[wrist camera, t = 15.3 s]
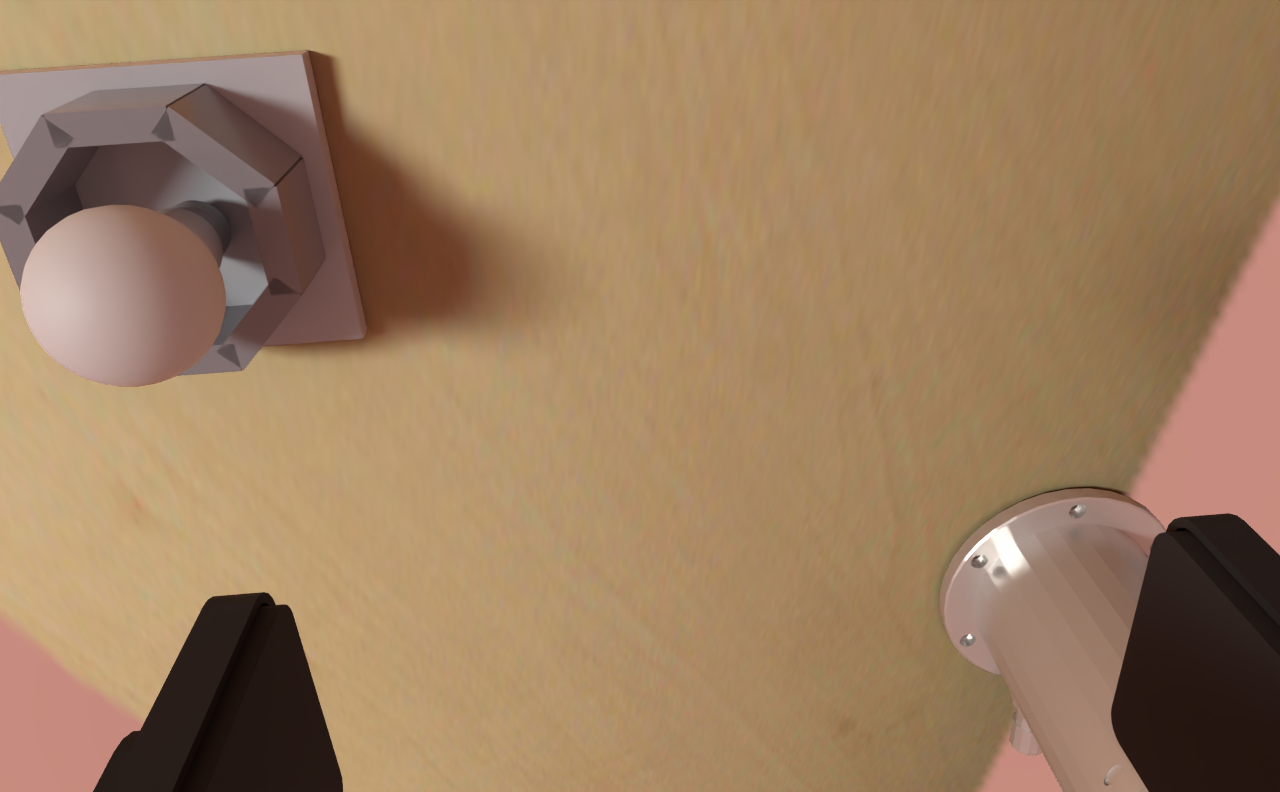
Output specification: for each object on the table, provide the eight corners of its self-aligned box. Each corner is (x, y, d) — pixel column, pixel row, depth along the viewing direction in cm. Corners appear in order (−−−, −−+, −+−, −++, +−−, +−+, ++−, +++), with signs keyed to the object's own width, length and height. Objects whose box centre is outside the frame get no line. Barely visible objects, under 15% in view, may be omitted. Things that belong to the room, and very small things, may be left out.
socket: (367, 329, 43) (343, 381, 39) (97, 349, 43) (43, 403, 39) (308, 50, 38) (272, 74, 33) (-4, 71, 37) (-81, 97, 33)
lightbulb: (118, 141, 38) (-37, 228, 28) (279, 159, 39) (183, 250, 29) (135, 286, 41) (-1, 410, 31) (285, 300, 41) (198, 427, 32)
